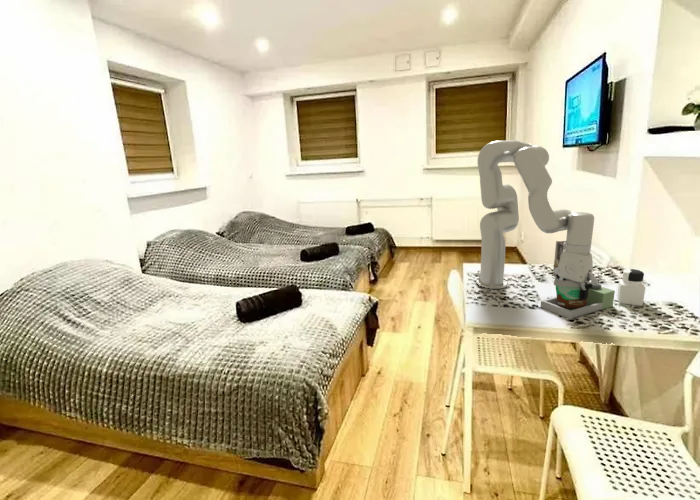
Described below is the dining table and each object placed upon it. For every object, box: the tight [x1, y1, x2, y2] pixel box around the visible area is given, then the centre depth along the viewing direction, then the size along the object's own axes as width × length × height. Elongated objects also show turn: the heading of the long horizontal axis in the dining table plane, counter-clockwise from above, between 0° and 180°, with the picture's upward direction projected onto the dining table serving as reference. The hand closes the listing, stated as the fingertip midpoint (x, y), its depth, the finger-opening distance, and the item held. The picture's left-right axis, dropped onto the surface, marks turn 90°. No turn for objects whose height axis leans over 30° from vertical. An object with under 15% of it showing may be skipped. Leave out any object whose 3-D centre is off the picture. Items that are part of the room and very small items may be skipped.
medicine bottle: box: [616, 268, 646, 307], centre depth 137 cm, size 7×7×12 cm
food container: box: [553, 278, 591, 309], centre depth 133 cm, size 12×6×10 cm, turn 91°
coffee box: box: [552, 240, 568, 280], centre depth 164 cm, size 9×6×16 cm
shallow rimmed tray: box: [540, 281, 616, 320], centre depth 136 cm, size 12×22×7 cm, turn 114°
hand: (572, 295), depth 134 cm, fingers open, 7 cm apart
